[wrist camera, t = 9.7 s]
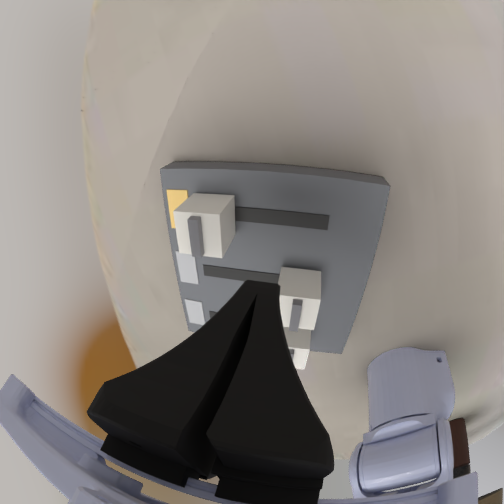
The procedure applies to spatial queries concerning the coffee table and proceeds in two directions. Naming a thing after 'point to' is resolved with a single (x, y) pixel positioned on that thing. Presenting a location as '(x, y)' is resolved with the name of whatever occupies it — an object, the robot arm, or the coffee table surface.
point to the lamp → (467, 459)
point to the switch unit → (282, 236)
